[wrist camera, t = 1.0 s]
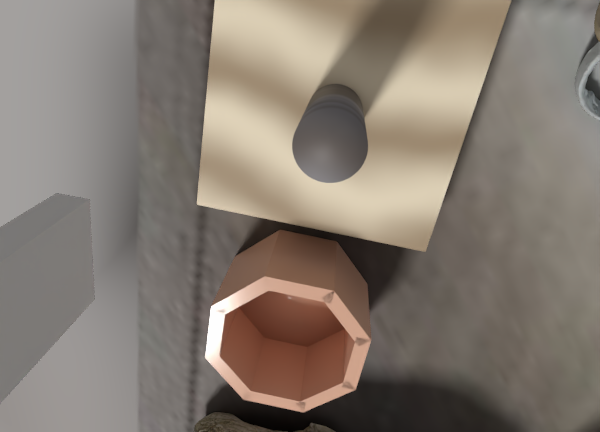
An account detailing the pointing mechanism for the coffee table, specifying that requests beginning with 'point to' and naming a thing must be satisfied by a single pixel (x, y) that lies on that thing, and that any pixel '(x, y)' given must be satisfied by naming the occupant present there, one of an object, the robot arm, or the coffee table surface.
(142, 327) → the coffee table surface
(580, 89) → the ceramic mug
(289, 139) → the lid
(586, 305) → the coffee table surface
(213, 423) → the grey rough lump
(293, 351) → the bowl
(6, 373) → the robot arm
